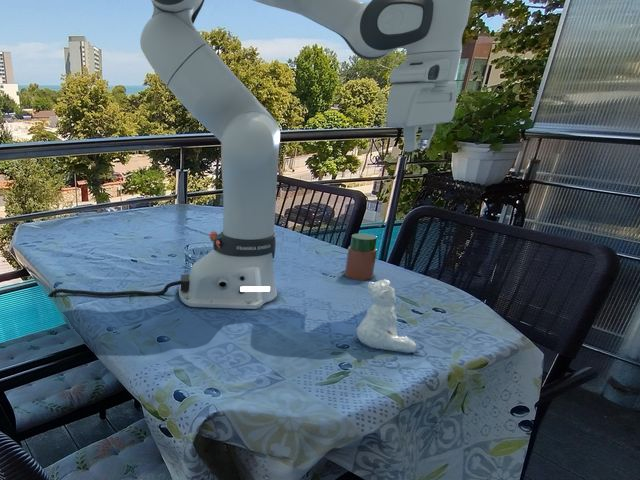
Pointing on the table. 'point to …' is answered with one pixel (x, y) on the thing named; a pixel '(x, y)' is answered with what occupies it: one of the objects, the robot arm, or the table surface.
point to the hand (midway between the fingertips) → (416, 150)
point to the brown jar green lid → (361, 256)
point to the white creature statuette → (383, 321)
